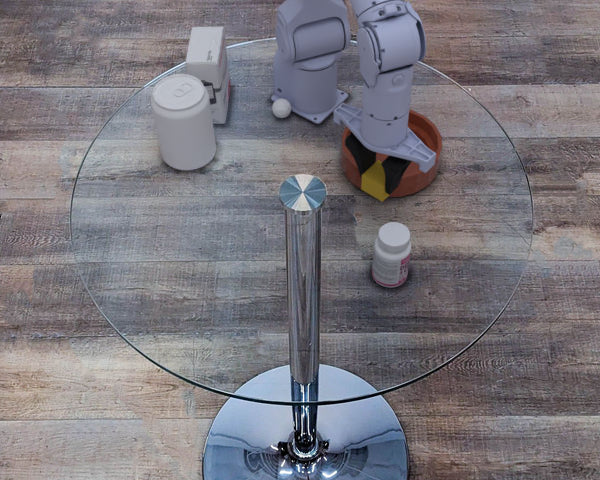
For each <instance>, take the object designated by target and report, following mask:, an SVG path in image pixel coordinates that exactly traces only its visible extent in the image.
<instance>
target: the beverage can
mask: <svg viewBox="0 0 600 480" xmlns="http://www.w3.org/2000/svg"><path fill="white" fill-rule="evenodd" d="M150 106H151V111H152V115H153V116H152V117H153V120H154V126H155V130H156V135H157V139H158V144H159V145H158V146H159V149H160V154H161V158H162V160H163V161H164V163H165V164H167V165H168V166H169V167H171V168H173V169H175V170H179V171H194V170H198V169H201V168H202V167H205V166H207V165H208V164H209V163H211V161H212V160H213V159H214V157H215V155H216V152H217V145H216V143H217V142H216V135H215V129H214V124H213V121H212V114H211V107H210V99H209V94H208V91H207V89H206V88H205V87H204V85H203V83H202V82H201V81H200V80H199V79H198V78H196V77H194V76H191V75H187V73H176V74H171V75H168V76H166V77H164V78H162V79H161V80H159V81H158V82H157V83H156V84H155V85H154V87H153V89H152V93H151V96H150Z"/></svg>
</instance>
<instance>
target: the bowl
mask: <svg viewBox="0 0 600 480" xmlns="http://www.w3.org/2000/svg"><path fill="white" fill-rule="evenodd" d="M408 127H409V129H410V130H411V131H412V132H413V133H414V134H415V135H416V136H417V137H418V138H419V139H420V140H421V141H422V142H423V143H424V145H425V146H427V147H428V148H429V149H430V150H431V151H433V152H435V153H436V158H435V164H434V165H433V166H432V167H431V168H430V169H429V170H428V171H427V172H426V173H424V172H423V171H421V170H420V169H419V166H420V165H418V164H417V163H415V162H413V161H412V162H411V163H410V165H409V166H408V167H407V169H406V171H405V172H404V174H403V176H402V178H401V180H400V183H399V186H398V187H397V188H396V189H395V190H394V191H393V192H392V193H391V194H390V195H389V196H388V197H387V198H400V197H404V196H409V195H413V194H416V193H418V192H420V191H421V190H423V189H425V188H427V187H428V186H429V185H430V183H432V181H434V180H435V178H436V177H437V175H438V171H439V168H440V166H441V165H440V164H441V158H442V154H443V153H442V152H443V139H442V138H443V137H442V134H441V132H440V131H439V129H438V127H437V125H436V124H435V123H434V122H432V121H431V120H430V119H429V117H427V116H426V115H424V114H421V113H420V112H417V111H415V110H413V109H409V117H408ZM350 133H351V130H350V129H349V128H348V127H347V126H346V125H345V128H344V129H343V132H342V134H341V149H340V150H341V151H340V165H341V168H342V170H343V173H344V175H345V177H346V178H347V179H348V180H349V181H350V182H351V183H352V184H353V185H354V186H355V187H357V188H359V189H360V190H361V183H362V179H361V176H360V173H359V170H358V167H357V164H356V161H355V159H354V157H353V155H352V154H351V152H350V151H349V149H348V148H347V147H346V146H345V139H346V138H347V137H348V136H349V135H350ZM388 156H389V155H386V154H382V153H376V161H378V160H379V161H381V162H383V161H384V160H385V159H386V158H387V157H388Z"/></svg>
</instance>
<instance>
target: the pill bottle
mask: <svg viewBox="0 0 600 480" xmlns="http://www.w3.org/2000/svg"><path fill="white" fill-rule="evenodd" d="M411 254H412V242H411V231H410V230H409V228H408V227H407V226H406V225H405V224H404V223H401V222H397V221H390V222H387V223H383V225H381V226H380V228H379V230H378V233H377V237H376V238H375V241H374V244H373V257H372V266H371V275H372V276H371V277H372V278H373V280H374V281H375V283H377V284H378V285H380V286H382V287H385V288H398V287H400V286H402V285H403V284H404V283H405V281H406V280H407V278H408V273H409V268H410V262H411Z"/></svg>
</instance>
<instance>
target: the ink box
mask: <svg viewBox="0 0 600 480" xmlns="http://www.w3.org/2000/svg"><path fill="white" fill-rule="evenodd" d="M225 32H226V31H225V27H224V26H193V27H192V28H191V31H190V37H189V41H188V46H187V47H188V48H187V50H186V51H187V52H186V57H185V62H184V64H185V71H186V74H187V75H191V76H194V77H196V78H198V79H199V80H200V81H201V82H202V83H203V85H204V87H205V88H206V89H207V91H208V94H209V99H210V107H211V114H212V121H213V125H215V124H216V125H217V124H218V125H224V124H226V121H227V116H228V110H229V102H230V101H229V100H230V94H231V79H230V70H229V61H228V51H227V41H226V33H225Z"/></svg>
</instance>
